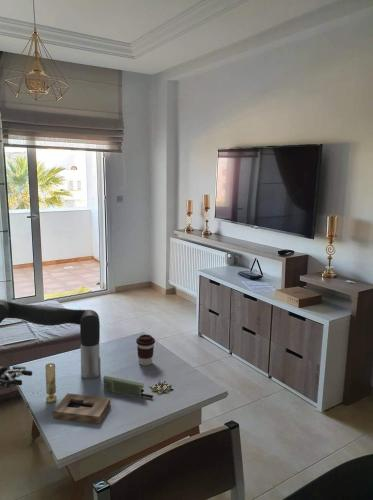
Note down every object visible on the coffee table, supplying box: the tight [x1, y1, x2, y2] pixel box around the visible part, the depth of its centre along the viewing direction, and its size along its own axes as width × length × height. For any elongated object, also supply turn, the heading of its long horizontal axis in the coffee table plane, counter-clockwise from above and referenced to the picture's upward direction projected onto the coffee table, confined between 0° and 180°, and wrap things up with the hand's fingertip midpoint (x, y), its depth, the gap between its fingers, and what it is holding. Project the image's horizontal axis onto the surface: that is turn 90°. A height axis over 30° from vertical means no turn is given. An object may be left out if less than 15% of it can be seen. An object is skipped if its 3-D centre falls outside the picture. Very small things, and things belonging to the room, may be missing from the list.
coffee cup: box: [135, 334, 156, 366], centre depth 217 cm, size 10×10×15 cm
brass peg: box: [44, 362, 57, 404], centre depth 178 cm, size 4×4×17 cm
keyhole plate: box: [52, 393, 111, 425], centre depth 172 cm, size 20×14×3 cm
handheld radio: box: [102, 375, 154, 399], centre depth 187 cm, size 7×3×25 cm
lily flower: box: [151, 379, 171, 396], centre depth 193 cm, size 12×12×5 cm
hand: (26, 378), depth 180 cm, fingers open, 8 cm apart
